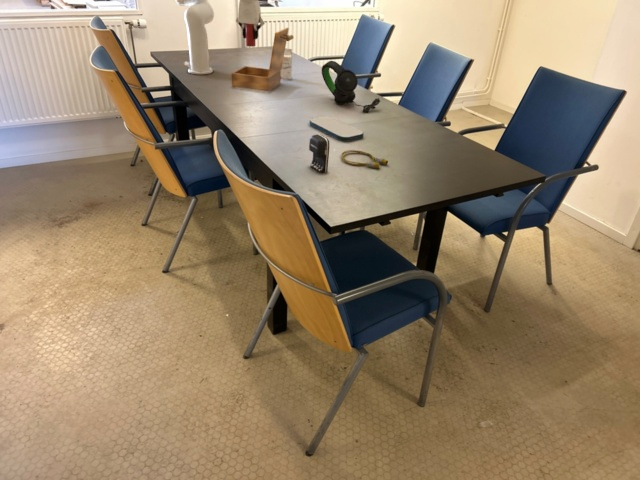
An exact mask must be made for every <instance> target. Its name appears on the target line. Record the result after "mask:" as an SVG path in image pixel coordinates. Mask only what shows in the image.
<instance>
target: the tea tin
mask: <svg viewBox="0 0 640 480" xmlns="http://www.w3.org/2000/svg"><path fill="white" fill-rule="evenodd" d="M254 31H255V29H254V25H253V24H246V23H245V38H244V39H245V47H249V48H250V47H251V48H253V47H256V44H257V43H256V40H254Z"/></svg>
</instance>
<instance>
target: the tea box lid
mask: <svg viewBox="0 0 640 480" xmlns="http://www.w3.org/2000/svg"><path fill="white" fill-rule="evenodd" d="M289 29H290V28H289V27H286V28H283V29H280V30H279V31H276V32H275V33H274V36H273V43H272V49H271V54H270V55H271V56H270V61H269V68H268V69H269V74H268V77H271V76H273V75H274V74H276V73H277V72H279V71H281V70H282V64H283V58H284V53H285V52H286V51H285V48H286V46H287V42H290V41H291V40H294V35H293V34H290V35H289Z"/></svg>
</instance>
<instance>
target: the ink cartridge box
mask: <svg viewBox="0 0 640 480" xmlns="http://www.w3.org/2000/svg"><path fill="white" fill-rule="evenodd" d="M292 72H293V49H292V48H286V47H285V53H284V58H283V64H282V70H281V79H283V80H284V79H285V80H292Z"/></svg>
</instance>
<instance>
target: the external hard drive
mask: <svg viewBox="0 0 640 480" xmlns="http://www.w3.org/2000/svg"><path fill="white" fill-rule="evenodd" d="M309 125H310V126H311V127H313V128H315V129H317V130H319V131H321V132H322V133H325V134H327V135H328V136H330V137H332V138H334V139H336V140H337V141H338V140H339V141H342V142H351V141H356V140H358V139H359V140H360V139H362V138H363V137H364V131H363V130H361V129H359V128H357V127H355V126H352V125H351V124H349V123H347V122H344V121H342V120H340V119H338V118H336V117H333V116H330V115H322V116H316V117H313V118H310V119H309Z"/></svg>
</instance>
